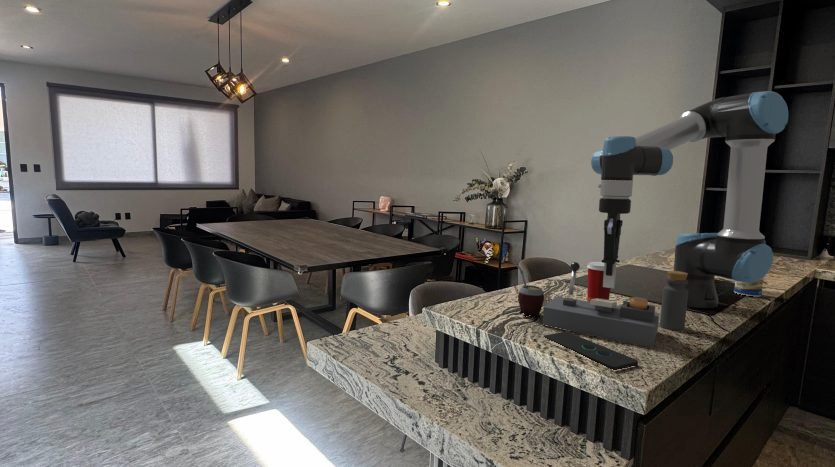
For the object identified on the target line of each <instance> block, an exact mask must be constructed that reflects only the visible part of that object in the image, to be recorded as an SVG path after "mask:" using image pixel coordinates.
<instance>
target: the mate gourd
mask: <svg viewBox="0 0 835 467" xmlns="http://www.w3.org/2000/svg"><path fill="white" fill-rule="evenodd" d="M512 263H513V264H514V265H515V267H517V269H518V270H519V273H520V275H521V278H522V282H523V285H522V286H521V287H520V289H519V291H518V294H517V300H518V304H519V309H520V311H519V314H521V313H524V314H522V317H523V316H525V317H526V316H529V315H531V316H529V317H533V316H535V317H534V318H537V317H540V318H541V315H540V314H541V313H542V312H541V311H542V308H543V306H544V305H543V304H544V302H545V301H544V300H545V294H544V293H545V292H544V291H543V289H542V288H541V287H540V286H536V285H527V282H526V279H525V276H524V270H523V269H522V268H521V266H520V265H518V264H516V263H515V262H512ZM525 317H524V318H525ZM526 318H527V317H526Z"/></svg>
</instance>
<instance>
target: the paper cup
mask: <svg viewBox="0 0 835 467" xmlns="http://www.w3.org/2000/svg"><path fill="white" fill-rule="evenodd" d="M586 268H587V289H586V290H587V295H586V298H587V299H586V301H588V302H590V300H591V299H597V298H598V299H600V298H601V299H607V300H610V295H611V289H612V288H607V287H603V277H604V263H602V261H592V262H591V261H590V262H588V264H587V265H586Z"/></svg>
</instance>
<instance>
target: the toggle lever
mask: <svg viewBox="0 0 835 467" xmlns="http://www.w3.org/2000/svg"><path fill="white" fill-rule="evenodd" d="M580 267H581V266H580V264H579V263H578V262H577V261H574V262H572V263H571V264H570V270H571V276H570V281H569V282H570V283H569V286H568V287H569V288H568V295H571V296H573V295H574V291H575V285H576V278H577V271H579V270H580Z"/></svg>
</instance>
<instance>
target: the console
mask: <svg viewBox="0 0 835 467" xmlns="http://www.w3.org/2000/svg"><path fill="white" fill-rule="evenodd" d="M629 303H630V301H626V300H624V301H623V302H622V304H621V305H620V306H618V305H617V306H615V307H612V308H610V307H604V306H598V305H591V304H590V302H588V301H587V300H583V299H582V300H581V299H576V298H572V297H571V298H570V297H564V296H556V297H555V298H553V299H552V300H551V301H550V302H548V303H547V304H546V305H545V306H544V305H543V311H542V324H544V325H548V326H552V327H557V328H561V329H566V330H570V331H569V332H571V331H575V332H574V333H577V332H579V333H578V334H582V333H583V335H587V336H594V337H597V338H601V339H607V340H612V341H616V342H617V341H618V342H622V343H628V344H634V345H637V346H644V347H648V348H652V349H653V348H654V346H655V341H656V340H657V339H656V338H657V334H658V330H659V329H658V328H659V322H660V312H656V305H651V304H647V310H643V309H637V308H631V307H629ZM561 329H560V330H561ZM566 330H565V331H566Z"/></svg>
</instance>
